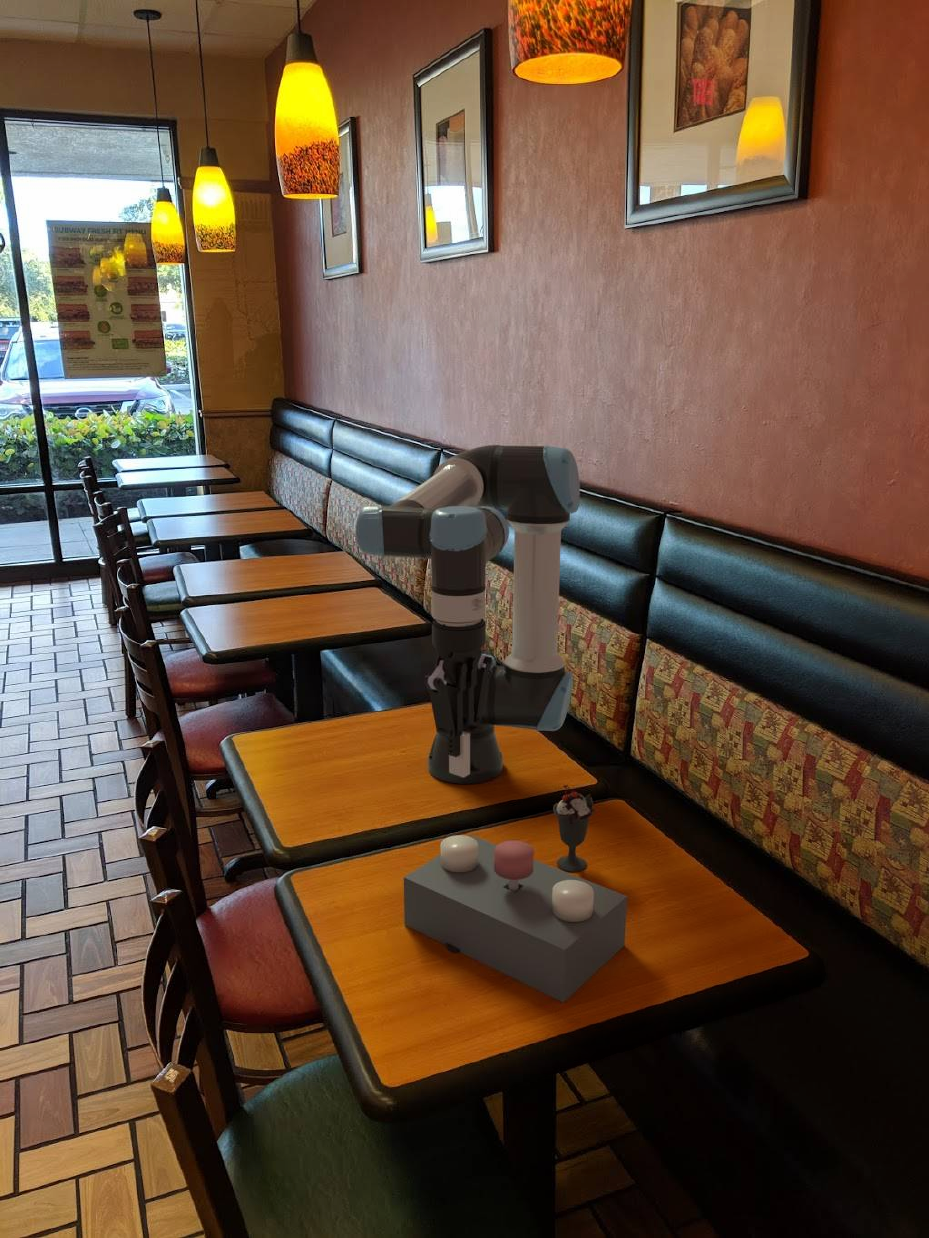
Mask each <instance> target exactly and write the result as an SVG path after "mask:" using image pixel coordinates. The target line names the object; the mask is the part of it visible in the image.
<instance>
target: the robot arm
mask: <svg viewBox="0 0 929 1238" xmlns="http://www.w3.org/2000/svg"><path fill="white" fill-rule="evenodd" d="M580 492H581V488H580V476H579V470H578V465H577V461H576V458H575V456H574V454H573V453H572V451H570V450H569V449H568V448H566V447H558V446H550V445H501V444H490V445H482V446H477V447H475V448H471V449H468V450H466V451H462V452H459V453H458V454H456V455H453V456H452V457H449V458H448V459H446V460H445V461H443V462H442V463H440V464H439V465H438V466H437V467H436V469H435V470H434V473H433V475H432V476H431V477H430V478H428V479H427V480H425V481H424V482H423V483H421V484H420V485H418V486H417V487H415V488H414V489H412V490H411V491H409V492H408V493H406V494H404V496H402V497H401V498H399V499H398V500H397V501H395V502H393V503H392V504H391V505H382V504H378V505H365V506H364V507H362V508H361V509H360V511H359V513H358V515H357V517H356V522H355V538H356V539H355V540H356V543H357V547H358V549H359V550H360V551H361V552H362V553H363V554H365V555H369V556H380V558H385V557H387V558H402V559H403V558H404V559H421V560H422V559H423V560H424V559H425V560H426V559H427V560H430V564H431V565H430V566H431V569H430V570H431V571H430V572H431V591H430V592H431V595H430V596H431V597H430V598H431V601H430V602H431V603H430V604H431V610H430V611H431V613H430V614H431V617H432V618H433V620H432V622H431V642H432V643H431V644H432V646H433V647H434V648H435V650H436V652H437V656H436V660H435V669H434V671H433V672H432V673H431V675H430V674H426V675H424V677H423V683H424V685H425V687H426V688H427V690H428V694H429V700H430V704H431V708H432V709H431V710H432V714H433V718H434V726H435V729H436V732H435V734H434V735H435V736H434V739H433V742H432V744H431V748H430V751H429V754H428V757H427V770H428V773H429V774H430V775H431V776H432V777H433V778H436V779H438V780H440V781H442V782H447V783H451V784H457V785H459V784H461V785H469V784H471V785H474V784H481V783H485V782H488V781H491V780H493V779H495V778H497V777H499V776H500V775H501V773H502V772H503V769H504V767H503V766H504V764H503V763H504V758H503V755H502V752H501V751H500V747H499V746H500V745H499V743H498V739H497V737H496V734H495V732H496V731H495V726H500V727H507V728H508V727H509V728H515V729H516V728H517V729H526V730H534V731H536V732H539V731H545V732H547V731H549V732H554V731H555V732H556V731H557V730H559V729H561V727H562V726H563V724H564V722H565V719H566V717H567V714H568V710H569V706H570V702H571V697H572V692H573V686H574V674H573V673H572V672H570V671H568V670H567V671H565V669H566V663H565V660H564V659H563V658H562V657H561V656H560V654H559V653H558V637H559V635H558V634H559V611H560V610H559V605H560V579H561V578H560V577H561V576H560V575H561V574H560V573H561V571H560V570H561V548H562V547H561V542H562V541H561V540H562V539H561V538H562V530H563V529H564V528H565V527H566V526H567V525H568V524H569V523H570V519H571V518H570V517H571V516H570V515H572V514H574V513H576V512H577V511H578V510H579V507H580V496H581V495H580V494H581V493H580ZM500 510H506V517H505V515H503V513H501V511H500ZM509 525H510V526H511V527H512V528H513V531H514V539H513V541H514V543H513V544H514V545H513V547H514V550H513V593H512V595H513V599H512V600H513V601H512V602H513V604H512V644H511V645H512V647H511V648H512V649H511V651H512V652H511V653H510V654H509V655H507V656H506V657H505V659H504V660H503V661H504V662H503V664H504V665H497V661H496V660H495V657H494V656H493V655H489V654H488V653H483V651H482V648H483V647H484V646H485V645H486V640H487V639H486V636H487V635H486V634H487V633H486V629H487V627H486V625H487V624H486V623H487V622H486V620H485V619H484V618H485V617H486V587H487V585H486V583H487V582H486V581H487V579H486V578H487V577H486V576H487V574H486V573H487V571H486V569H487V563H488V562H489V561H490V560H492V559H493V558H495V557H497V556H499V554H500V553H501V552H502V550H503V549H504V547H505V546H506V545H507V542H508V540H509V536H510V527H509Z"/></svg>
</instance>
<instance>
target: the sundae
mask: <svg viewBox="0 0 929 1238" xmlns="http://www.w3.org/2000/svg"><path fill="white" fill-rule="evenodd" d="M563 788H565V793H564V795H563V796H562V798H561V799H562V800H560V801H559V802H556V803H554V805H553V807H552V808H553V809H552V810H553V814H554V815H555V816H556V817H557V821H558V829H559V834H560V835H559V836H560V840H561V841H562V842H563V843H564V844H565V845H566V846H568V854H567V855H565V856H562V857H560V858H558V859H557V861H556V865H557V866H558V869H559V870H562V871H564V872H567V873H569V872H570V873H577V872H582V871H584V870H585V869H586V868H587V866H588V864H587V861H586V860H585V859H583V858H582V857H579V856H577V854H576V853H577V852H576V850H577V849H576V848H577V847H578V846H580V845H581V844H582V843H583V842H584V841H585V839H586V835H587V832H588V831H587V830H588V825H589V821H590V817H591V816H592V815H593V814H594V812H595V809H594V807H593V806H594V802H593V798H592V795H591V793H589V794H587V795H586V796H585V797H584V796H583V795H582V794H581V793H579V792H576V791H573V790H572V789H571V788H570V787H569V786H568V784H566V785H565V784H564V785H563ZM567 788H568V789H569V791H571V793H569V794H567V793H568V790H567Z"/></svg>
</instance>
